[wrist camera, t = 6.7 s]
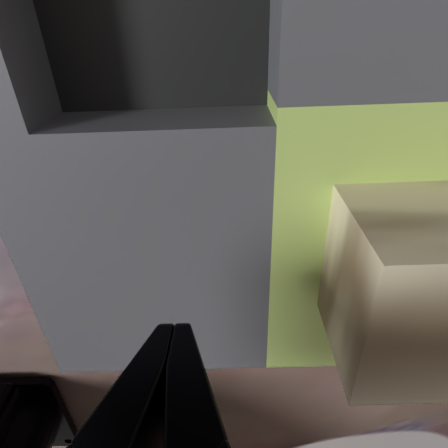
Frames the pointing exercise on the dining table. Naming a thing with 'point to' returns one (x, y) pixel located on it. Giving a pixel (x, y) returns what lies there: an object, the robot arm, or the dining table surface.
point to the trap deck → (203, 161)
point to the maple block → (388, 291)
